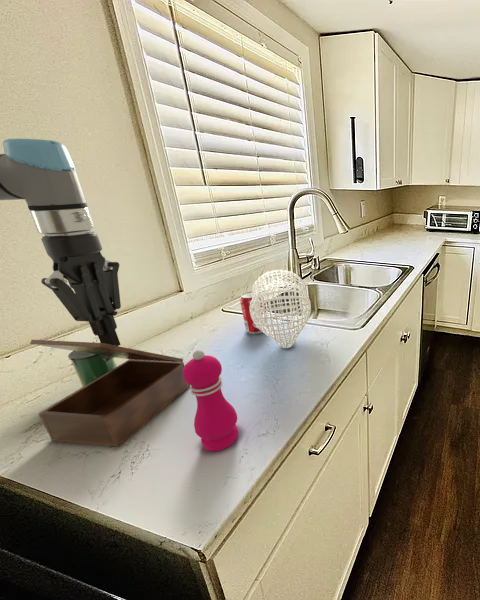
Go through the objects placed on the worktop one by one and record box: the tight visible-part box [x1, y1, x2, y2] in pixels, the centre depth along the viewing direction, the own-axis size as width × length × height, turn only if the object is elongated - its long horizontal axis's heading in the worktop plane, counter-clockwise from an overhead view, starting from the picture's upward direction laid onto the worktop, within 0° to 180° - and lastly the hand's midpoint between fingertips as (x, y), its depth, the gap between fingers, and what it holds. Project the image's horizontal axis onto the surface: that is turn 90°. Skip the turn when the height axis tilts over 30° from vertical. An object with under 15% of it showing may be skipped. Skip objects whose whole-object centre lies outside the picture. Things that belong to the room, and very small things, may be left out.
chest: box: [38, 359, 190, 448], centre depth 71 cm, size 20×15×7 cm
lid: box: [29, 339, 184, 362], centre depth 69 cm, size 21×15×1 cm
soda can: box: [239, 291, 268, 335], centre depth 107 cm, size 7×7×13 cm
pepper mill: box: [183, 349, 239, 452], centre depth 61 cm, size 7×7×20 cm
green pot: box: [67, 350, 118, 388], centre depth 80 cm, size 10×8×10 cm
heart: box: [250, 269, 312, 349], centre depth 95 cm, size 28×16×22 cm, turn 21°
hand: (111, 346), depth 68 cm, fingers closed
